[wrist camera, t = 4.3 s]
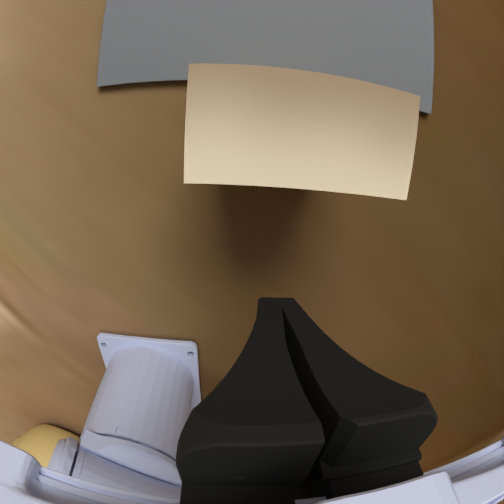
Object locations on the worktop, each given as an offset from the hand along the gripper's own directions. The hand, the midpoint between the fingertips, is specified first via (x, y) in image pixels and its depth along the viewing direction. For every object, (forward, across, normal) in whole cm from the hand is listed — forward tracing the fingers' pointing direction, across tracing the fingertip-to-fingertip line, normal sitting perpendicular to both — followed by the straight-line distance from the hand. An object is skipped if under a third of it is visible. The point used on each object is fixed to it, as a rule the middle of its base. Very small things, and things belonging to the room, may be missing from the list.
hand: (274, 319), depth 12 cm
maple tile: (+8, 0, -7) cm, 11 cm away
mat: (+8, 0, -17) cm, 19 cm away
